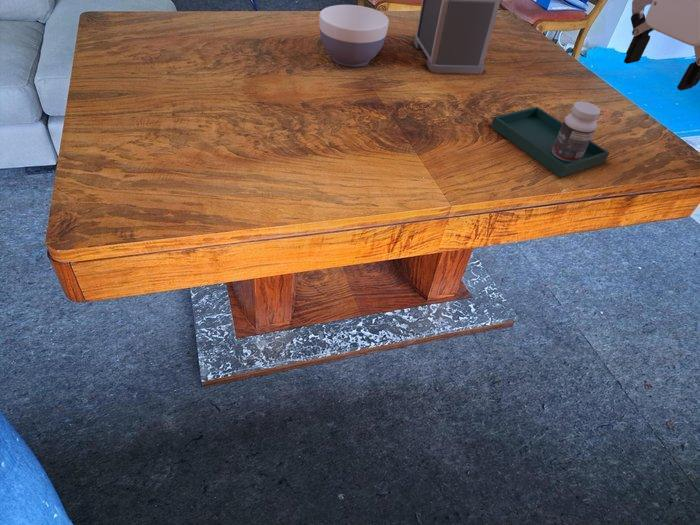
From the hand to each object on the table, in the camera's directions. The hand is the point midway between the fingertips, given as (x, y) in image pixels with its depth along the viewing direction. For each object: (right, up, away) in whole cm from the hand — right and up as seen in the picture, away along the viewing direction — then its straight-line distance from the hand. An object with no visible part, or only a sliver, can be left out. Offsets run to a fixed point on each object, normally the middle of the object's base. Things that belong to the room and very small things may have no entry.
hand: (656, 74), depth 78 cm
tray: (-9, -6, +22) cm, 24 cm away
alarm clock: (-23, +22, +49) cm, 59 cm away
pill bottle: (-6, -9, +19) cm, 22 cm away
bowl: (-47, +20, +44) cm, 67 cm away
